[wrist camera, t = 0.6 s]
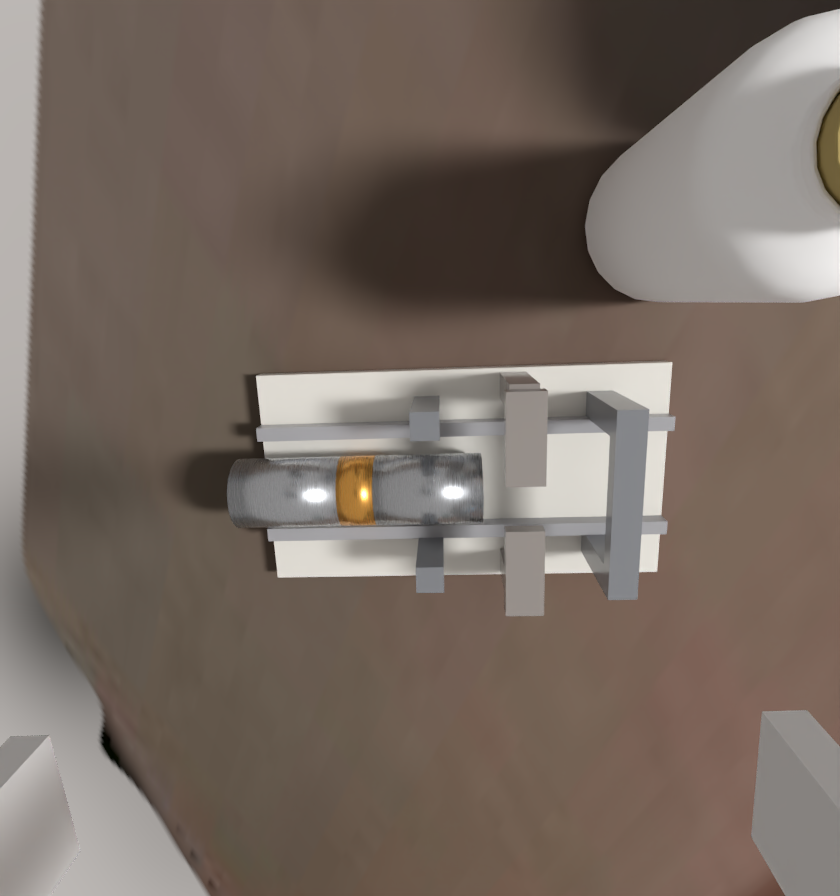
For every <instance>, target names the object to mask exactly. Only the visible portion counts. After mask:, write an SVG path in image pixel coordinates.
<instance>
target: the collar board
mask: <svg viewBox="0 0 840 896" xmlns="http://www.w3.org/2000/svg"><path fill="white" fill-rule="evenodd" d="M671 373H672V362H669V361H637V362H606V363H576V364H545V365H514V366H484V367H453V368H423V369H392V370H361V371H331V372H300V373H270V374H259V375H257V376H256V381H257V390H258V399H259V409H260V418H261V425H260V426H259V427H257V428H256V434H257V442H263V445H264V455H265V458H297V457H336V456H376V455H415V454H454V453H481V458H482V469H483V492H484V514H483V523H462V524H410V525H359V526H308V527H268V529H267V532H268V541H274V547H275V556H276V565H277V574H278V577H339V576H405V575H416V589H417V593H444V575H471V574H501V577H502V582H503V587H504V609H505V614H506V616H544V580H545V573H593V574H594V576H595V577H596V579H597V581H598V583H599V585H600V586H601V588H602V590H603V592H604V594H605V595H606V597H607V599H608V600H635V599H637V596H638V580H639V572H657V565H658V551H659V538H660V534H667V521H666V520H665V519H664V518H663V517H662V516H661V510H662V497H663V483H664V469H665V455H666V442H667V431H674V428H675V416H673V415H671V414H669V400H670V387H671Z"/></svg>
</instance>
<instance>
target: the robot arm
mask: <svg viewBox="0 0 840 896" xmlns="http://www.w3.org/2000/svg"><path fill="white" fill-rule="evenodd" d="M751 837H752V839H753V841H754V842H755V844H756V846H757V848H758V849H759V851H760V853H761V855H762V856H763V858H764V860H765V861H766V863H767V865H768V867H769V868H770V870H771V872H772V873H773V875H774V877H775V879H776V880H777V882H778V884H779V886H780V887H781V889H782V891H783V892H784V894H785V896H840V747H839V745H838V744H837V743H836V742H835V741H834V740H833V739H832V738H831V737H830V735H829V734H828V733H827V732H826V731H825V730H824V729H823V728H822V727H821V725H820V724H819V723H818V722H817V721H816V720H815V719H814V718H813V716H812V715H811V714H810V713H809V712H808V711H807V710H797V711H767V712H762V718H761V729H760V741H759V753H758V764H757V776H756V787H755V799H754V811H753V822H752V834H751ZM79 853H80V847H79V843H78V840H77V836H76V832H75V829H74V825H73V821H72V817H71V814H70V810H69V806H68V802H67V799H66V795H65V791H64V788H63V784H62V780H61V777H60V773H59V770H58V766H57V762H56V758H55V754H54V751H53V747H52V744H51V740H50V736H49V735H41V736H40V735H39V736H11V737H10V738H9V739H8V740H7V741H6V742H5V743H4V744H3V745H2V746H1V747H0V896H51V895H52V893H53V892H54V890H55V889H56V887H57V885H58V884H59V883H60V881H61V880H62V878H63V877H64V875H65V874H66V872H67V870H68V869H69V868H70V866H71V865H72V863H73V862H74V860H75V859H76V857H77V856H78V854H79Z"/></svg>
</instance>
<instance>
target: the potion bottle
mask: <svg viewBox="0 0 840 896" xmlns="http://www.w3.org/2000/svg"><path fill="white" fill-rule="evenodd" d="M585 231H586V240H587V248H588V252H589V254H590V256H591V259H592V261H593V263H594V265H595V267H596V269H597V271H598V273H599V274H600V275H601V276H602V277H603V278H604V279H605V280H606V281H607V282H608V283H609V284H610V285H611V286H612V287H613V288H614V289H615V290H617V291H619V292H621V293H623V294H625V295H627V296H629V297H631V298H634V299H636V300H645V301H653V302H809V301H814V300H819V299H824V298H829V297H834V296H839V295H840V9H837V10H833V11H829V12H824V13H820V14H816V15H812V16H808V17H804V18H802V19H799V20H797V21H794V22H792V23H791V24H789V25H787V26H786V27H784V28H782V29H781V30H779V31H777V32H776V33H774V34H772V35H771V36H769V37H767V38H766V39H764V40H762V41H761V42H759V43H757V44H756V45H754V46H752V47H751V48H750V49H748V50H747V51H746V52H745V53H744V54H742V55H741V56H740V57H739V58H738V59H736V60H735V61H734V62H733V63H732V64H730V65H729V66H728V67H727V68H725V69H724V70H723V71H722V72H721V73H719V74H718V75H717V76H716V77H715V78H713V79H712V80H711V81H710V82H709V83H707V84H706V85H705V86H704V87H703V88H701V89H700V90H699V91H698V92H697V93H695V94H694V95H693V96H692V97H691V98H689V99H688V100H687V101H686V102H684V103H683V104H682V105H681V106H680V107H678V108H677V109H676V110H675V111H674V112H672V113H671V114H670V115H669V116H668V117H666V118H665V119H664V120H663V121H662V122H660V123H659V124H658V125H657V126H656V127H654V128H653V129H652V130H651V131H650V132H648V133H647V134H646V135H645V136H644V137H642V138H641V139H640V140H639V141H637V142H636V143H635V144H634V145H633V146H631V147H630V148H629V149H628V150H627V151H625V152H624V153H623V154H622V155H621V156H620V157H619V158H618V159H617V160H616V161H615V162H614V163H613V164H612V165H611V166H610V167H609V169H608V170H607V171H606V172H605V173H604V174H603V175H602V176H601V178H600V180H599V182H598V184H597V186H596V188H595V190H594V192H593V194H592V196H591V198H590V201H589V206H588V212H587V217H586V223H585Z"/></svg>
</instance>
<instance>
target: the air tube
mask: <svg viewBox="0 0 840 896" xmlns="http://www.w3.org/2000/svg"><path fill="white" fill-rule="evenodd" d="M227 503H228V510H229V514H230V517H231V520H232V522H233V524H234V525H235V526H236V527H238V528H257V527H308V526H359V525H410V524H462V523H483V514H484V492H483V469H482V458H481V453H454V454H415V455H376V456H336V457H297V458H258V459H237V460H236V461H235V462H234V463H233V465H232V467H231V470H230V473H229V477H228V484H227Z"/></svg>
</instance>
